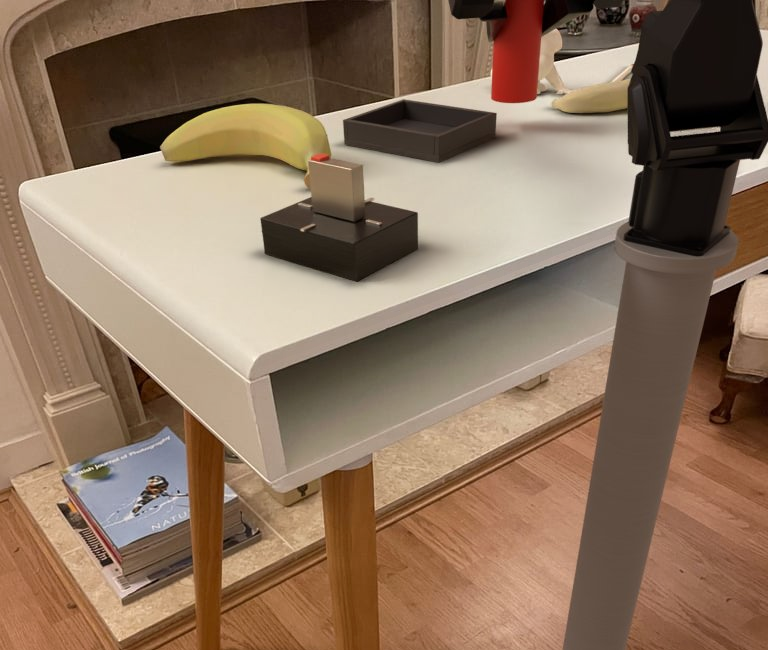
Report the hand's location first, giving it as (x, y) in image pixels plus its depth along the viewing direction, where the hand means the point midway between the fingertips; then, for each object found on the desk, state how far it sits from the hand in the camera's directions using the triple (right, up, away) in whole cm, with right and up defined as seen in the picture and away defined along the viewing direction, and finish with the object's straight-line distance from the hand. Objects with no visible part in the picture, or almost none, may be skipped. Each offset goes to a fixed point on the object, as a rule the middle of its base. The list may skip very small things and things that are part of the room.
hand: (513, 36), depth 89 cm
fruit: (+14, -2, +12) cm, 19 cm away
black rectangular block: (-18, -31, -23) cm, 43 cm away
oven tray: (-10, -11, +2) cm, 15 cm away
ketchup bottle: (0, -5, +3) cm, 6 cm away
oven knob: (-18, -29, -25) cm, 42 cm away
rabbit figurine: (+4, +3, +19) cm, 19 cm away
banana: (-28, -17, -5) cm, 33 cm away
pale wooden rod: (+18, +6, +22) cm, 29 cm away
